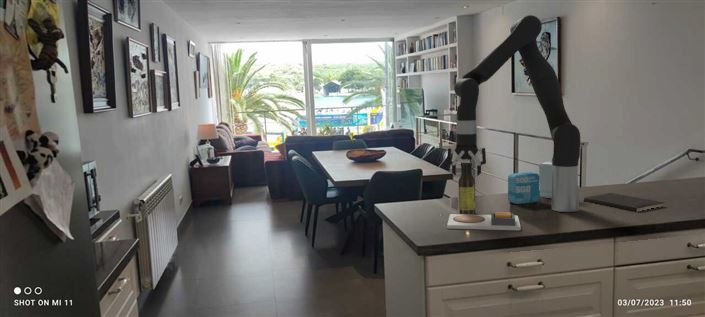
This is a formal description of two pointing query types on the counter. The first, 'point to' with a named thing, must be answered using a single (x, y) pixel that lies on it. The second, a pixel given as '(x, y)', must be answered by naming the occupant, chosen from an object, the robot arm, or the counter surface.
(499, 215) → the button
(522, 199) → the data package
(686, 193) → the counter surface
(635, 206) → the hardcover book
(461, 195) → the sauce bottle
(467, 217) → the white control panel
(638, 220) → the counter surface
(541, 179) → the skincare box
